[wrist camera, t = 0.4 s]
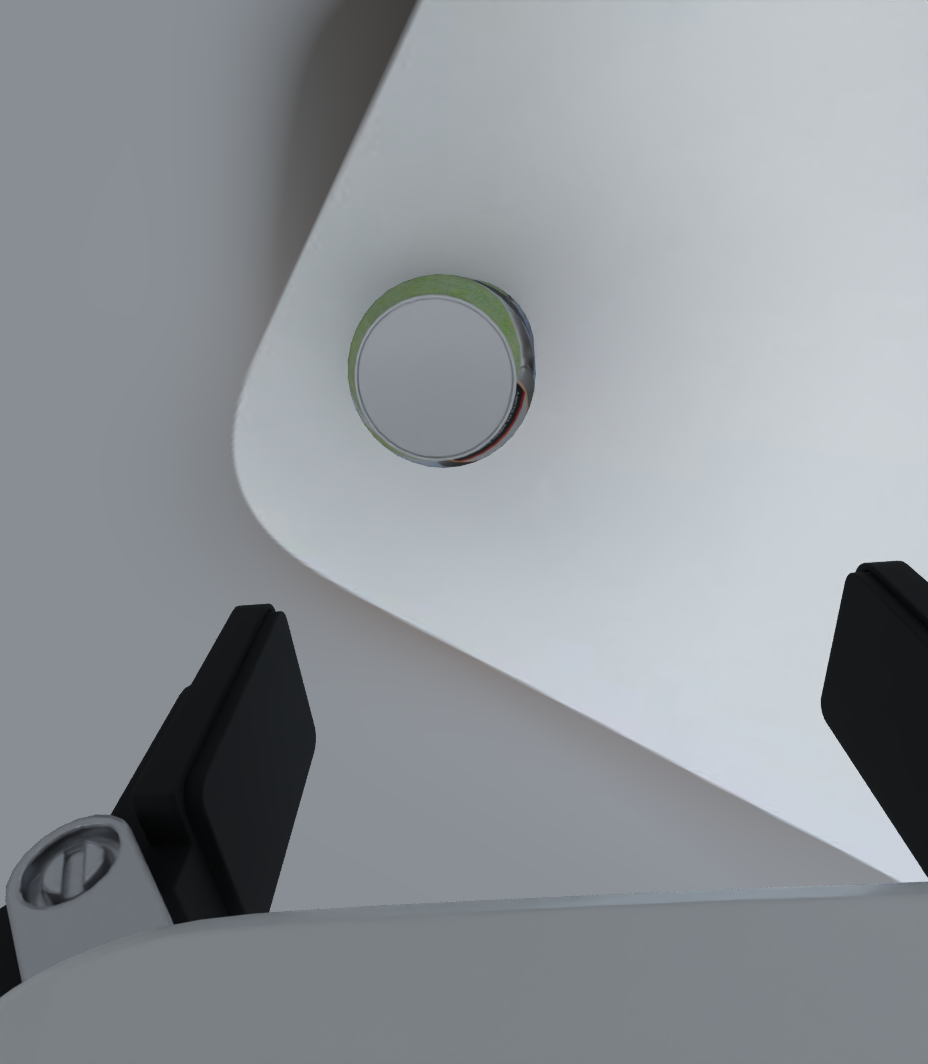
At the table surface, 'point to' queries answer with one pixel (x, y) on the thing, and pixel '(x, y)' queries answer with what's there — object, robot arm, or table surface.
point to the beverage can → (442, 369)
